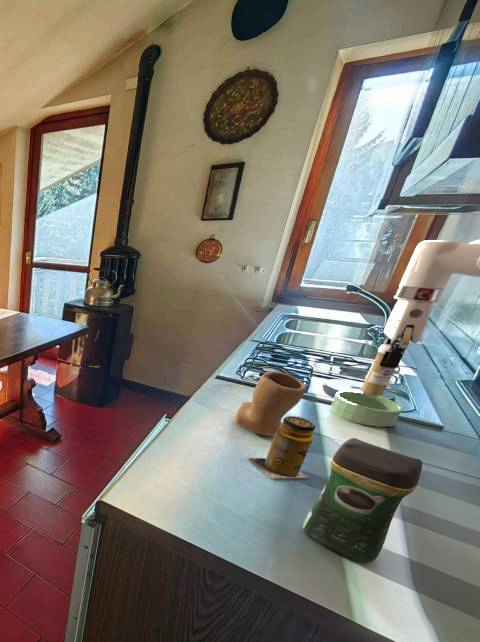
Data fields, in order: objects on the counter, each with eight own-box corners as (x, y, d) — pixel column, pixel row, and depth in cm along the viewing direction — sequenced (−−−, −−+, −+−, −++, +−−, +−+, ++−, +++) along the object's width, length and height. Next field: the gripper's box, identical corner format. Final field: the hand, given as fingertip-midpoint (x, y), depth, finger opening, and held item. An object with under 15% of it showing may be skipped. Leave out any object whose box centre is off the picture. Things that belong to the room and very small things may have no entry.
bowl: (387, 414, 110) (395, 398, 108) (399, 433, 100) (408, 416, 98) (326, 402, 117) (333, 386, 115) (332, 419, 107) (339, 403, 105)
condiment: (308, 478, 83) (330, 429, 78) (270, 479, 82) (289, 430, 77) (281, 458, 89) (300, 412, 84) (246, 459, 89) (262, 413, 84)
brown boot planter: (284, 445, 94) (306, 389, 88) (228, 428, 102) (245, 375, 96) (291, 423, 105) (311, 371, 99) (239, 409, 112) (255, 360, 106)
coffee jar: (382, 550, 65) (436, 456, 57) (367, 572, 61) (423, 474, 53) (311, 515, 72) (351, 429, 65) (293, 533, 68) (334, 443, 61)
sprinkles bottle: (369, 396, 104) (392, 348, 98) (355, 389, 108) (375, 343, 102) (387, 397, 103) (411, 349, 98) (372, 390, 108) (393, 343, 102)
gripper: (453, 301, 86) (414, 377, 94) (428, 290, 99) (396, 358, 107) (405, 297, 90) (372, 370, 98) (388, 287, 103) (359, 352, 110)
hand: (385, 363), depth 102 cm, fingers closed on sprinkles bottle, 4 cm apart
